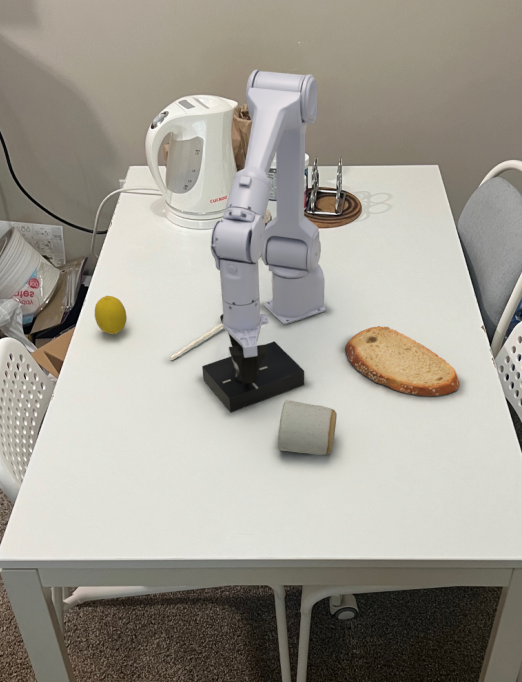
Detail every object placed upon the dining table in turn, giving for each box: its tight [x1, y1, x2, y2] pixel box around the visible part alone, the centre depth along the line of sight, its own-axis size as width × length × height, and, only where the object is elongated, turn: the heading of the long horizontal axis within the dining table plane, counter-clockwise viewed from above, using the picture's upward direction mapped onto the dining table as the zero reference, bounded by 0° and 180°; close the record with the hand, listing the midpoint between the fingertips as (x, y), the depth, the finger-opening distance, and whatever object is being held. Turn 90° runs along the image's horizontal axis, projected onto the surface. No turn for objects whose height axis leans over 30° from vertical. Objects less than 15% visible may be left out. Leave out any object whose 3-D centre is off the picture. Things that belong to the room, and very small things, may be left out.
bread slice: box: [344, 325, 460, 397], centre depth 128 cm, size 18×18×4 cm
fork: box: [169, 322, 224, 361], centre depth 136 cm, size 3×20×2 cm, turn 140°
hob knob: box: [232, 358, 242, 382], centre depth 122 cm, size 4×4×4 cm
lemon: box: [94, 295, 128, 335], centre depth 135 cm, size 6×6×8 cm
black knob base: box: [201, 341, 305, 414], centre depth 125 cm, size 14×10×3 cm
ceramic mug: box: [277, 399, 338, 456], centre depth 113 cm, size 11×8×8 cm
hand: (244, 367), depth 122 cm, fingers open, 7 cm apart
